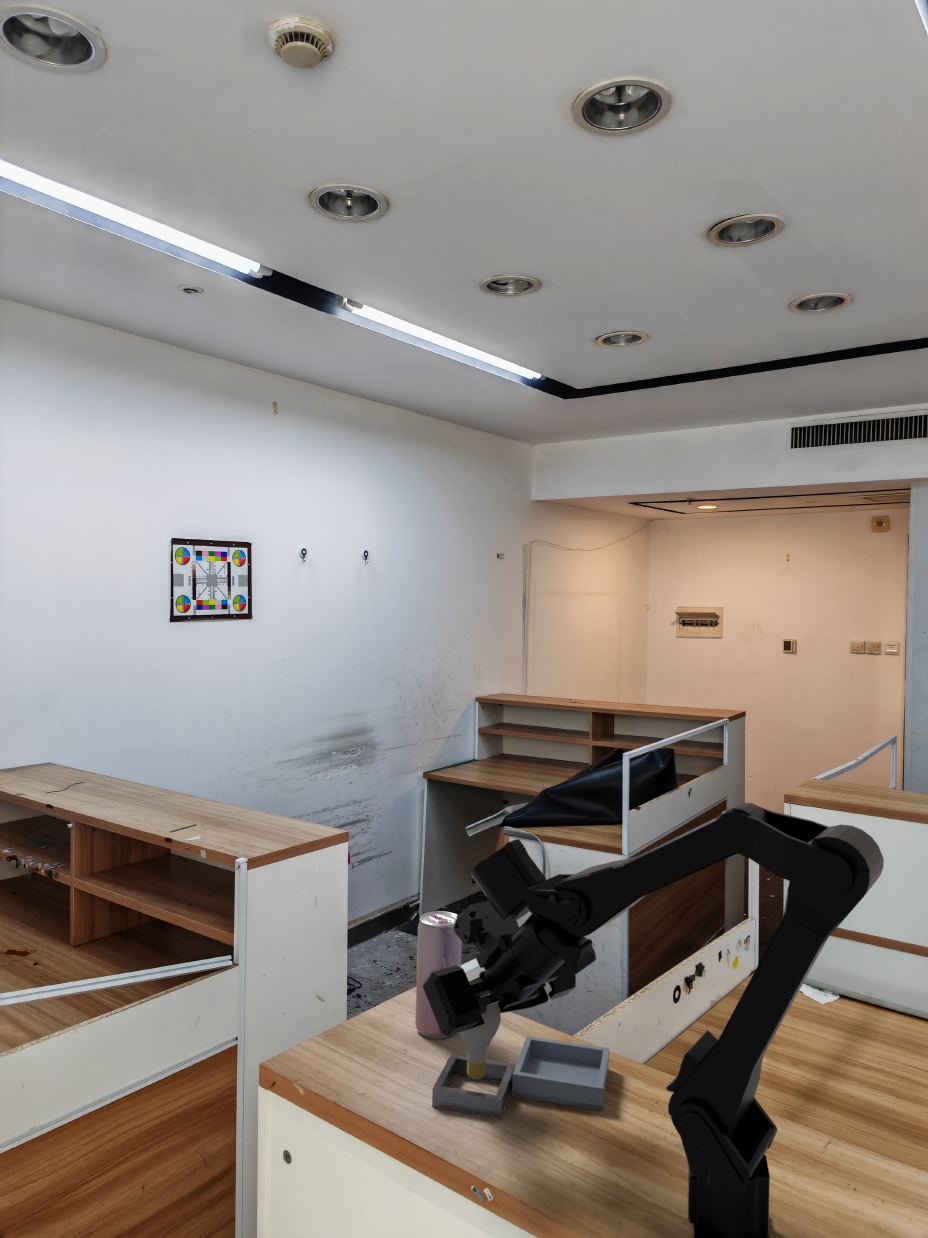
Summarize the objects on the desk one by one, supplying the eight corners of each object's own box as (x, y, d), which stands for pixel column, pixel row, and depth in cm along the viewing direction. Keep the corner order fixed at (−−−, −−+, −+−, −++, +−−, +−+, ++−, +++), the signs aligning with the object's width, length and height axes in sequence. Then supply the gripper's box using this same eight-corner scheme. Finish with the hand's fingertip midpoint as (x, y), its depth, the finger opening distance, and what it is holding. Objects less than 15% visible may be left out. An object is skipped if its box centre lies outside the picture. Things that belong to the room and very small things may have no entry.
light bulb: (495, 1094, 92) (497, 1004, 92) (448, 1088, 93) (450, 999, 93) (502, 1069, 97) (504, 985, 97) (458, 1064, 98) (459, 980, 98)
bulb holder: (514, 1081, 98) (515, 1064, 98) (501, 1119, 90) (501, 1100, 90) (450, 1070, 100) (451, 1054, 100) (432, 1106, 92) (432, 1089, 92)
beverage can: (441, 1015, 114) (443, 907, 115) (468, 1031, 110) (471, 920, 110) (406, 1027, 111) (409, 916, 111) (433, 1045, 106) (436, 929, 106)
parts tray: (608, 1069, 101) (609, 1048, 101) (602, 1111, 92) (602, 1089, 92) (526, 1056, 104) (526, 1036, 104) (512, 1096, 95) (512, 1074, 95)
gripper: (560, 872, 98) (499, 937, 107) (434, 900, 87) (377, 970, 95) (608, 959, 92) (540, 1021, 100) (479, 1001, 80) (414, 1067, 89)
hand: (469, 1017), depth 96 cm, fingers closed on light bulb, 5 cm apart
